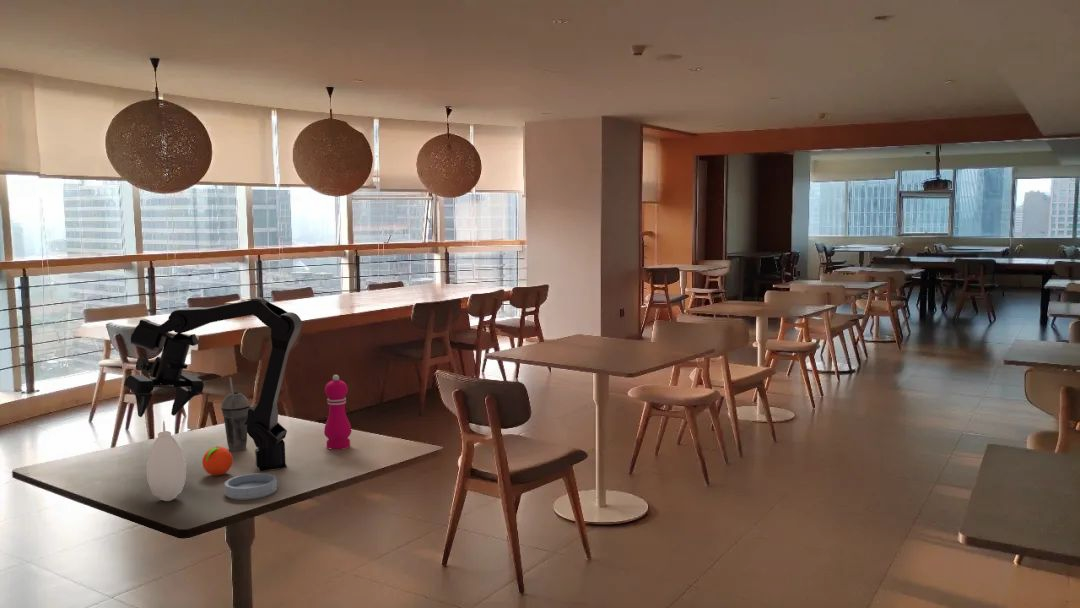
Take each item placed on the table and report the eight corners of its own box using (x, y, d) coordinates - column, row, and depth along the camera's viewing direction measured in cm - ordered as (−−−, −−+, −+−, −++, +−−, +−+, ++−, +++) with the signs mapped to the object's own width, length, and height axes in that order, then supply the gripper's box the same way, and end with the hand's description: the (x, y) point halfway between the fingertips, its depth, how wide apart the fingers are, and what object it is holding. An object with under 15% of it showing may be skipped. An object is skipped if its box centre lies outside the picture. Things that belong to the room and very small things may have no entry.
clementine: (220, 481, 195) (218, 452, 194) (194, 479, 197) (192, 450, 196) (239, 471, 203) (237, 443, 202) (213, 469, 204) (212, 442, 204)
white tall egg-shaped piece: (141, 502, 181) (136, 422, 179) (173, 492, 188) (168, 414, 186) (162, 508, 177) (158, 426, 175) (194, 497, 183) (190, 418, 182)
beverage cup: (257, 447, 224) (254, 375, 222) (234, 453, 218) (231, 380, 216) (240, 443, 228) (236, 373, 226) (217, 450, 222) (213, 377, 220)
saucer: (273, 481, 194) (272, 470, 194) (280, 495, 185) (279, 483, 184) (223, 488, 190) (223, 477, 189) (228, 502, 180) (227, 491, 180)
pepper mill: (339, 441, 229) (337, 371, 227) (357, 445, 225) (355, 373, 223) (319, 447, 224) (316, 375, 222) (336, 451, 219) (334, 378, 217)
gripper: (186, 347, 215) (170, 402, 217) (120, 344, 199) (103, 404, 200) (212, 362, 210) (196, 418, 211) (146, 360, 194) (129, 422, 195)
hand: (156, 415), depth 205 cm, fingers open, 9 cm apart
